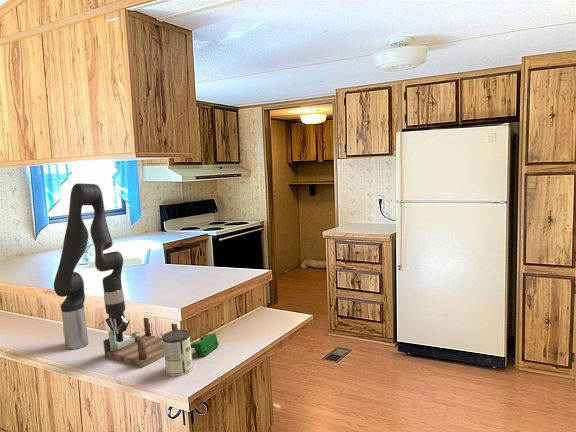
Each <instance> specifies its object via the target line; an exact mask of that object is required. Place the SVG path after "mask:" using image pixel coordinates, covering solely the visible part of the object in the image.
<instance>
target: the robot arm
mask: <svg viewBox="0 0 576 432" xmlns="http://www.w3.org/2000/svg"><path fill="white" fill-rule="evenodd" d="M103 196H104V195H103V191H102V190H101V187H100V186H99V185H98V184H95V183H82V182H81V183H74V185H73V186H72V188H71V192H70V197H69V198H70V199H69V209H68V217H67V223H66V229H65V233H64V239H63V244H62V251H61V254H60V260H59V264H58V267H57V271H56V274H55V277H54V280H53V289H54V291H53V292H55V294H56V296H58V297H62V298H63V297H65V299H64V300H63V302H61V304H60V310H61V319H62V320H61V321H62V330H63V331H62V333H63V338H64V345H65V349H67V350H77V349H81V348H83V347H86V346H88V344H89V335H88V330H87V329H88V327H87V321H86V313H85V304H84V303H85V301H86V299H85V298H86V297H85V285H84V284H85V282H84V279H83V277H82V274H81V273H79V272H76V271H75V268H76V267H77V265H78V264H79V261H80V260H81V259H82V257H83V256H84V254H85V252H86V251H87V250H86V249H87V246H88V241H89V231H90V236H91V240H92V243H93V246H94V253H95V257H94V265H95V268H96V270H97V271H99V272H101V273H103V272H107V271H112V272H111V273H110V274H108V275H106V276H104V277H103V278H102V287H103V289H102V290H103V302H104V307H105V313H106V315H108V316H107V317H108V318H106V319H105V322H106V324H107V326H108V327H109V329H110V331H114V333H115V335H116V341H117V343H118V342H122V341H123V340H124V334H123V332H126V331H127V329H128V326H129V324H130V320H128V319H126V317H125V314H124V312H125V311H126V303H125V296H124V291H123V290H124V289H123V285H122V272H123V265H124V257H123V254H122V253H121V252H120V251H117V250H116V251H111V252H105V253H104V251H106V250H108V249H110V248H112V247H113V240H112V236H111V233H110V231H109V228H108V223H107V218H106V210H105V204H104V197H103ZM83 206H91V207H92V209H93V214H94V215H93V219H92V222H91V224H90V230H89V231H88V228H87V226H86V225H85V223H84V221H83V217H82V209H83Z"/></svg>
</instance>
